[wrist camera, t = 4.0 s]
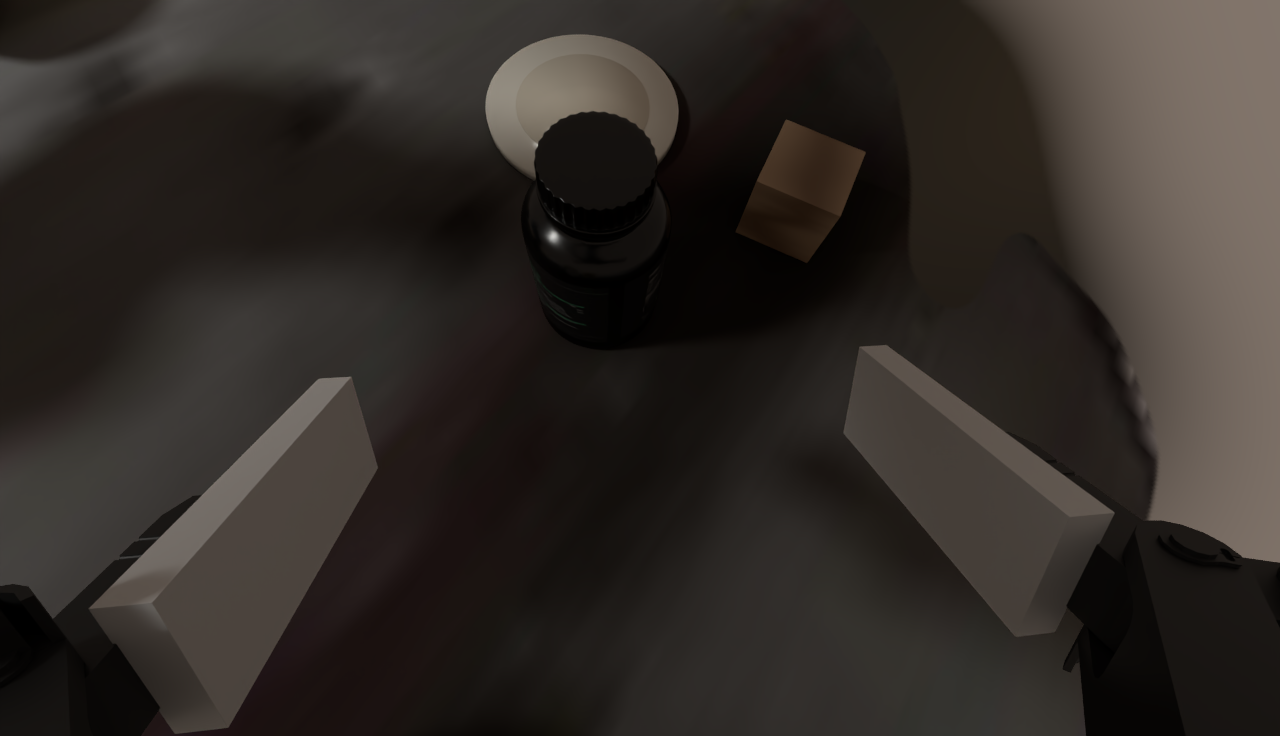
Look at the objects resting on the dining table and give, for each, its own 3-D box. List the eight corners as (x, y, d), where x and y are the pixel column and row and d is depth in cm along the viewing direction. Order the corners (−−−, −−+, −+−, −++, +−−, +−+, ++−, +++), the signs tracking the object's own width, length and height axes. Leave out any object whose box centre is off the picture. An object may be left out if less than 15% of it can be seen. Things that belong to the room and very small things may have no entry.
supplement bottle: (616, 232, 33) (623, 67, 21) (676, 316, 31) (718, 184, 20) (520, 281, 31) (473, 130, 20) (578, 373, 30) (564, 265, 18)
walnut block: (735, 232, 33) (756, 181, 29) (761, 176, 35) (786, 119, 30) (806, 263, 33) (840, 216, 28) (829, 205, 35) (865, 152, 30)
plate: (448, 106, 35) (444, 95, 34) (588, 18, 39) (588, 6, 38) (578, 227, 33) (577, 219, 32) (714, 121, 36) (717, 111, 35)
